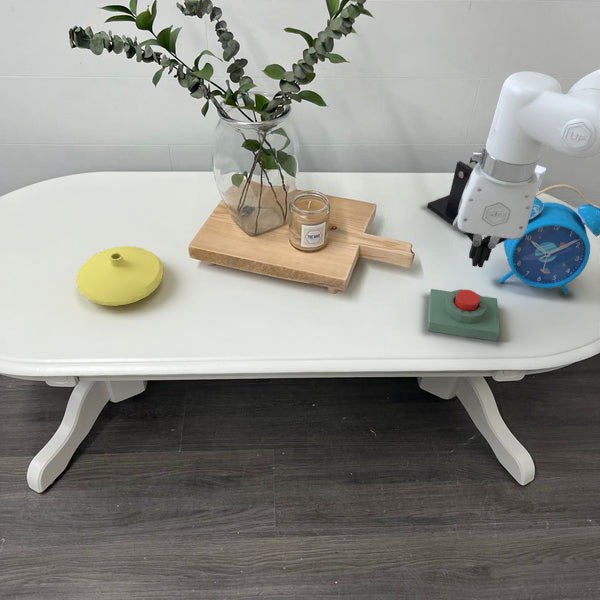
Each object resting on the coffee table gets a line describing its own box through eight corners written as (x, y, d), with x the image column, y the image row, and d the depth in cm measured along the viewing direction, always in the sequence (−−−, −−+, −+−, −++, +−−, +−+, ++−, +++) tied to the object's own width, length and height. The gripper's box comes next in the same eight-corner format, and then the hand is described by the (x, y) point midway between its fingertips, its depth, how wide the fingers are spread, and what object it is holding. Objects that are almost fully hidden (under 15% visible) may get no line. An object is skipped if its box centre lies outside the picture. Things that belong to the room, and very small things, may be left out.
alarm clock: (489, 289, 110) (519, 201, 96) (489, 257, 117) (517, 171, 104) (581, 305, 107) (625, 216, 94) (575, 271, 114) (615, 184, 101)
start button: (477, 298, 103) (479, 291, 101) (477, 313, 100) (480, 306, 98) (454, 295, 103) (456, 287, 102) (454, 310, 100) (456, 302, 99)
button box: (494, 306, 106) (499, 291, 104) (496, 341, 100) (502, 325, 97) (428, 297, 108) (432, 281, 105) (427, 330, 101) (431, 314, 99)
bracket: (494, 221, 127) (509, 170, 118) (464, 234, 123) (478, 182, 114) (455, 196, 134) (468, 146, 125) (426, 207, 130) (437, 156, 121)
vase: (72, 316, 102) (61, 287, 97) (87, 260, 113) (79, 231, 108) (162, 312, 103) (156, 283, 98) (168, 257, 114) (163, 228, 110)
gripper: (455, 169, 81) (430, 269, 93) (565, 183, 79) (525, 283, 91) (455, 144, 86) (432, 241, 99) (558, 157, 84) (521, 254, 97)
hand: (477, 261), depth 95 cm, fingers closed
